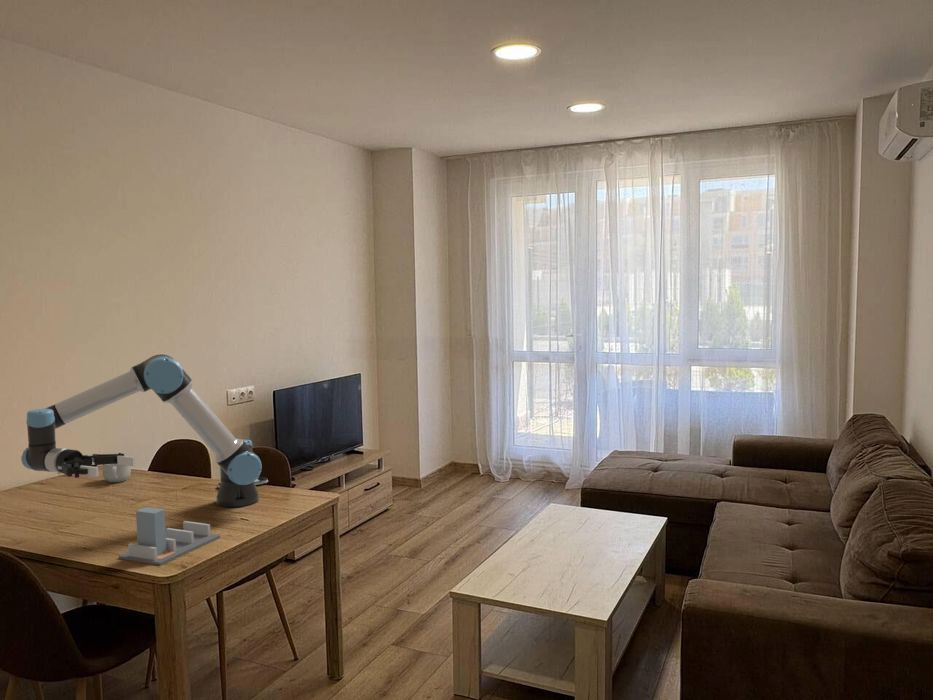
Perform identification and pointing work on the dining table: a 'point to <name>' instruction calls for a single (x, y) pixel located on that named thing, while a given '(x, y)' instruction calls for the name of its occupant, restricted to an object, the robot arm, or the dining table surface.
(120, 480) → the teacup
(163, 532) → the tall grey pillar
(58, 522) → the dining table surface
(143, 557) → the rack
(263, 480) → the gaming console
